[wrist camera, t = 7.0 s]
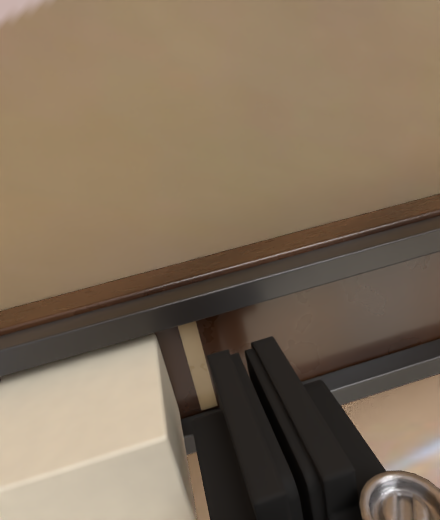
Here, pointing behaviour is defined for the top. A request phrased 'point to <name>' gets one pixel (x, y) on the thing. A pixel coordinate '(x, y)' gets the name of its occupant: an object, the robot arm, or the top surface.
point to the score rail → (266, 310)
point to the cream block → (94, 439)
